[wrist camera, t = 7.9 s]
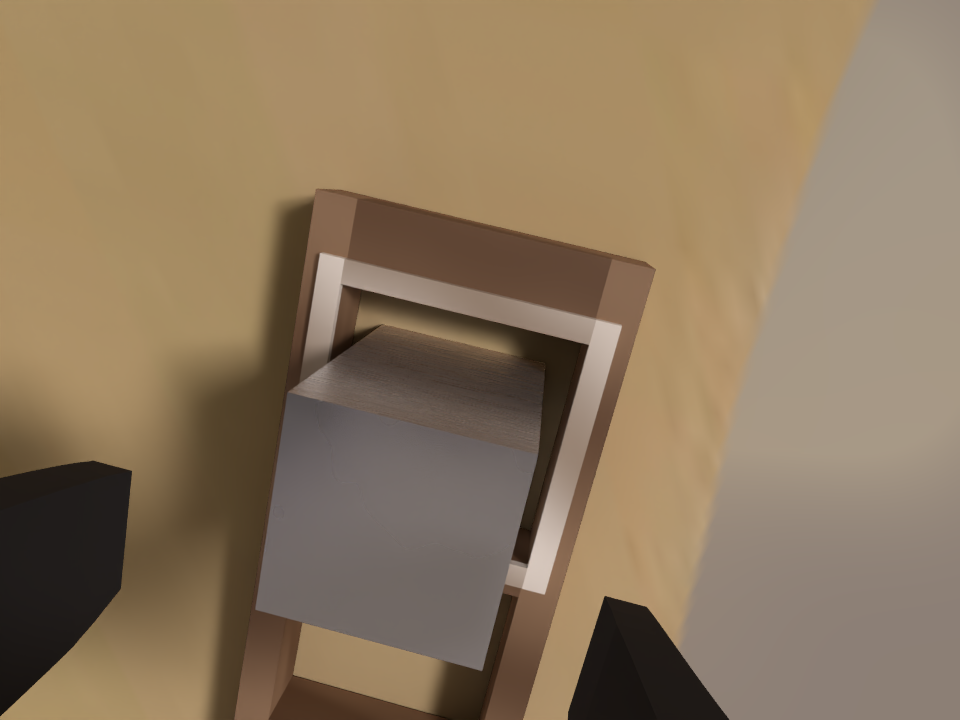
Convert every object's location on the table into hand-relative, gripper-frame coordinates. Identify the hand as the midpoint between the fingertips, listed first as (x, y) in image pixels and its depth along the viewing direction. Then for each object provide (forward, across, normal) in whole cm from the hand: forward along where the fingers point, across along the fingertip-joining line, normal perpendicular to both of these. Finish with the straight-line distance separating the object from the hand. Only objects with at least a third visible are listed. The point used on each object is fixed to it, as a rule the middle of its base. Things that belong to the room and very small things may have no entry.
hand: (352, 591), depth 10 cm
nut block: (+9, 0, 0) cm, 9 cm away
